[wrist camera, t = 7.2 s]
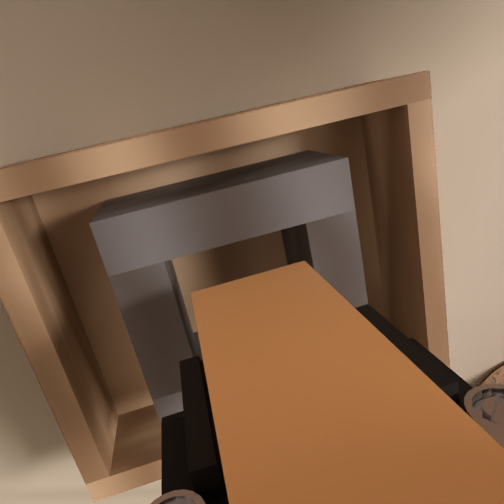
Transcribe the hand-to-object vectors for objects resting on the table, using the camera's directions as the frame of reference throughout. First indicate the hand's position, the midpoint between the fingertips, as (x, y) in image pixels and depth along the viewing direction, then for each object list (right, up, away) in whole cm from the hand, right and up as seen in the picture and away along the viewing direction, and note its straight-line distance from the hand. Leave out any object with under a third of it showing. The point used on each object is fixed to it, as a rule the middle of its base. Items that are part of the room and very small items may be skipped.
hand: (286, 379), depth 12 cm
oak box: (-2, +3, +10) cm, 10 cm away
